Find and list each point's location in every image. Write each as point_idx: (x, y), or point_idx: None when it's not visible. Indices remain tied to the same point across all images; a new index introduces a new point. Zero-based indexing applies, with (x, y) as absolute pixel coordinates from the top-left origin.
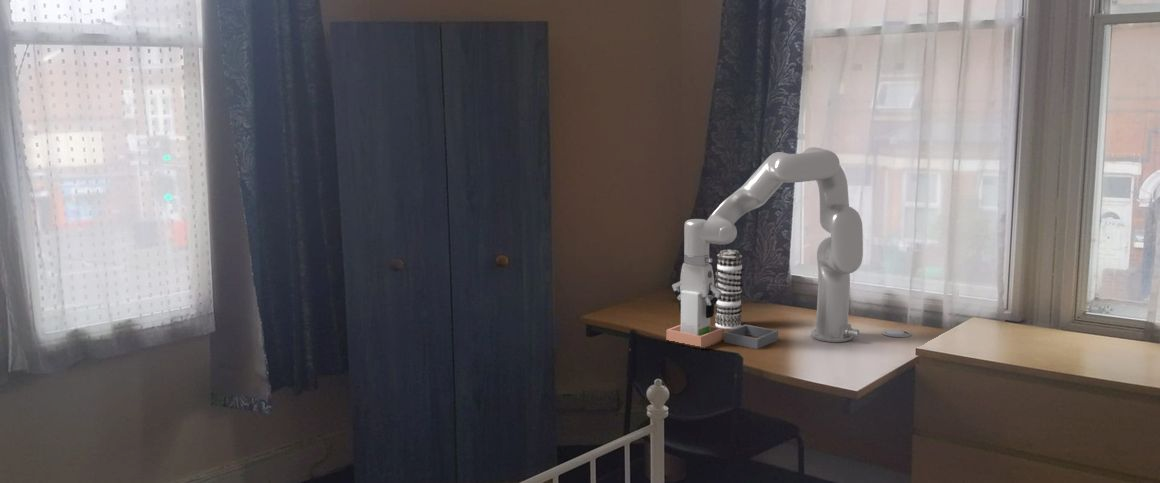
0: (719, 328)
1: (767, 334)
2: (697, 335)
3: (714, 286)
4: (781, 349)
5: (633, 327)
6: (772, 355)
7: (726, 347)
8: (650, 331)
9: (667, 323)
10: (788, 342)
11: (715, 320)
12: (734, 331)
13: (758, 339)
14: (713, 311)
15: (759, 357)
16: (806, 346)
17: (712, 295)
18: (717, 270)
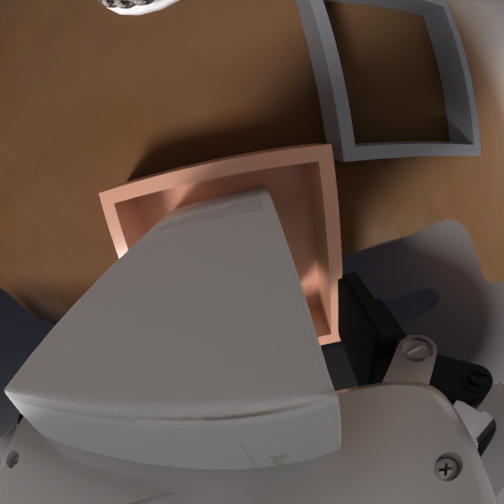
0: (314, 161)
1: (465, 66)
2: (318, 338)
3: (496, 496)
4: (489, 105)
5: (8, 282)
6: (498, 179)
7: (379, 212)
8: (47, 277)
9: (3, 162)
10: (456, 22)
11: (106, 4)
12: (341, 81)
13: (479, 147)
14: (386, 313)
15: (485, 223)
16: (495, 41)
17: (412, 388)
18: None
